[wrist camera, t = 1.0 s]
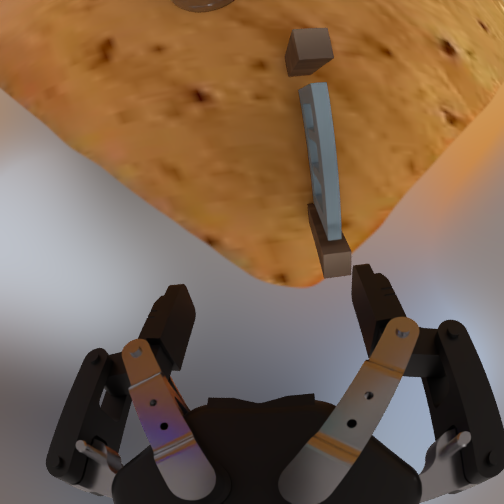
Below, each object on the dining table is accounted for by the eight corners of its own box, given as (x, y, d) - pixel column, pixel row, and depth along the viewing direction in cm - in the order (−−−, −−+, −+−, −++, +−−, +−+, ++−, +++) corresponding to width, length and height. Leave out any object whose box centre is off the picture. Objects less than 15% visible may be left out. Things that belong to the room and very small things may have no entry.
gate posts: (284, 56, 24) (292, 29, 14) (306, 54, 24) (327, 27, 13) (309, 222, 34) (324, 278, 24) (328, 220, 34) (350, 274, 24)
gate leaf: (298, 90, 25) (310, 83, 17) (309, 89, 25) (326, 82, 17) (313, 202, 31) (328, 240, 23) (323, 201, 31) (341, 239, 23)
